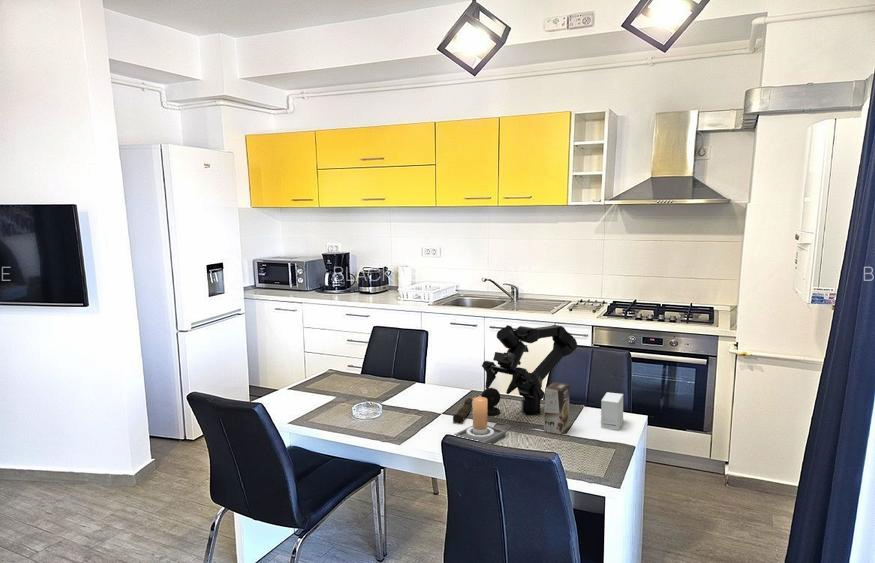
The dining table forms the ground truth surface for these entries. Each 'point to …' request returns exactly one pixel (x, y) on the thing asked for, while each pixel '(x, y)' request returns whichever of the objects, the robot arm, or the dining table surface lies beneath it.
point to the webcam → (491, 400)
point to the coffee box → (556, 408)
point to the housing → (491, 436)
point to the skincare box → (612, 411)
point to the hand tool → (463, 412)
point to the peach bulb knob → (480, 416)
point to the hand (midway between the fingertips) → (496, 391)
